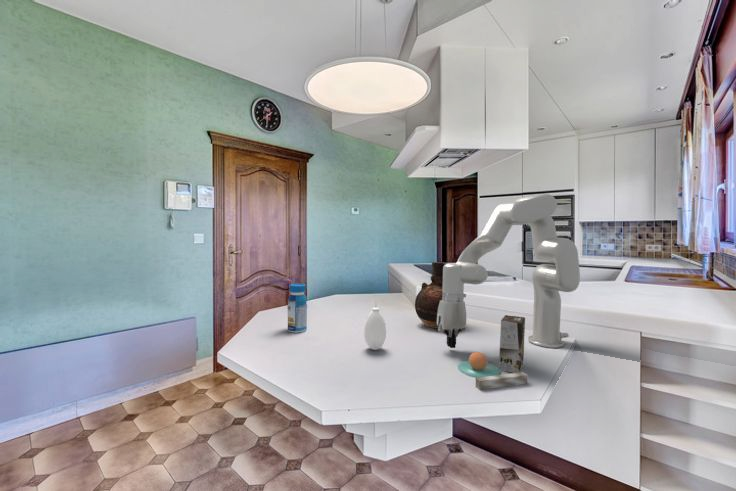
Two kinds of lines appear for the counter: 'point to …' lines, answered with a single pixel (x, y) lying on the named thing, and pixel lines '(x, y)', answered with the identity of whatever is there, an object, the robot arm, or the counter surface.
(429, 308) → the ceramic vessel
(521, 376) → the strip
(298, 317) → the beverage bottle
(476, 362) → the ball
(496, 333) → the counter surface
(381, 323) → the sauce bottle
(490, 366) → the teal disc
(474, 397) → the counter surface
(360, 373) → the counter surface
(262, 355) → the counter surface
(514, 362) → the coffee box
